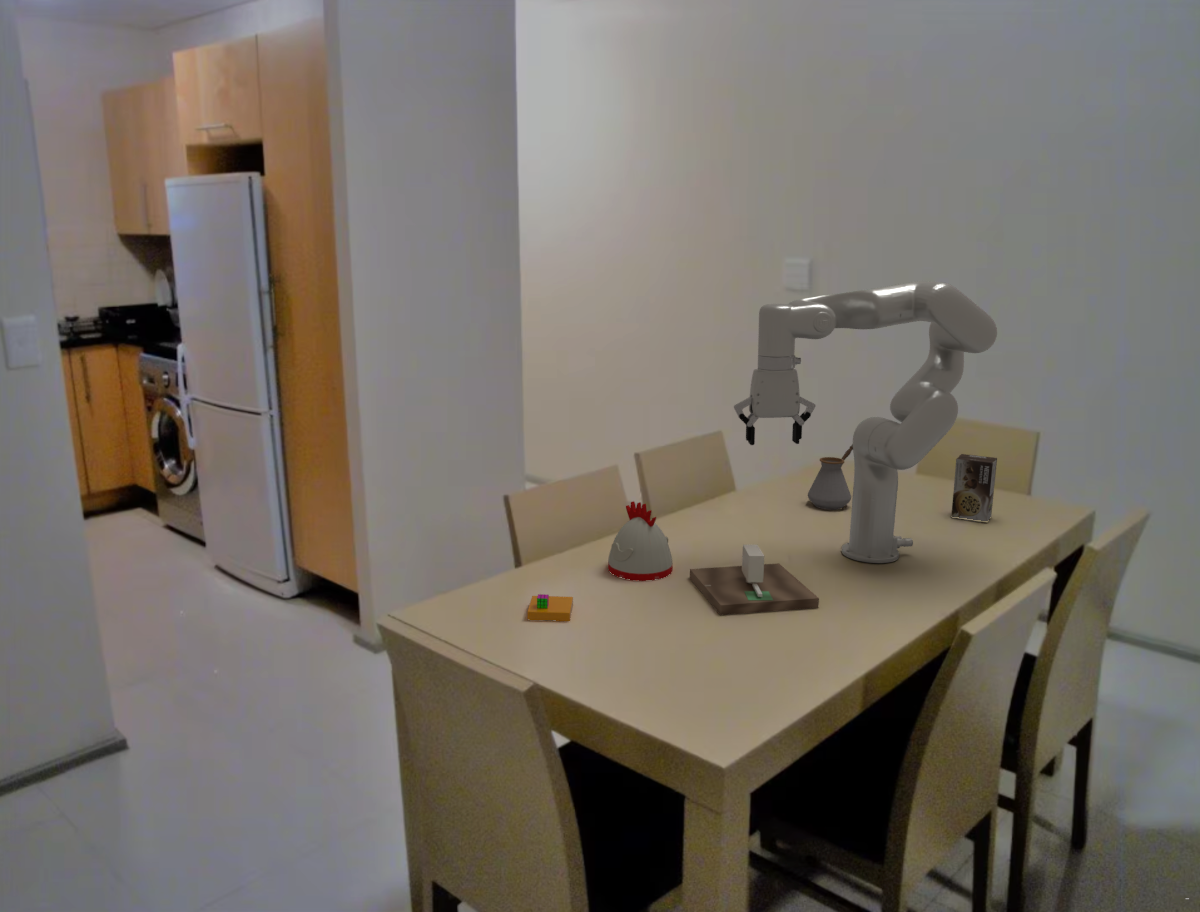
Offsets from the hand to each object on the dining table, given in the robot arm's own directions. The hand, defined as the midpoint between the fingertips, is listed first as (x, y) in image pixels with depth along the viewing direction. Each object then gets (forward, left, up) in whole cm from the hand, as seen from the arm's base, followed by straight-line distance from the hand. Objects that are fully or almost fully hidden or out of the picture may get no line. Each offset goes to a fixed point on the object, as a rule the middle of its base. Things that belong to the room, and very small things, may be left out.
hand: (773, 443), depth 196 cm
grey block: (+10, +18, -25) cm, 32 cm away
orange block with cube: (+51, +18, -28) cm, 61 cm away
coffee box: (-65, -23, -28) cm, 75 cm away
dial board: (+10, +16, -27) cm, 33 cm away
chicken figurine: (+29, -1, -28) cm, 40 cm away
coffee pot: (-37, -43, -28) cm, 64 cm away
